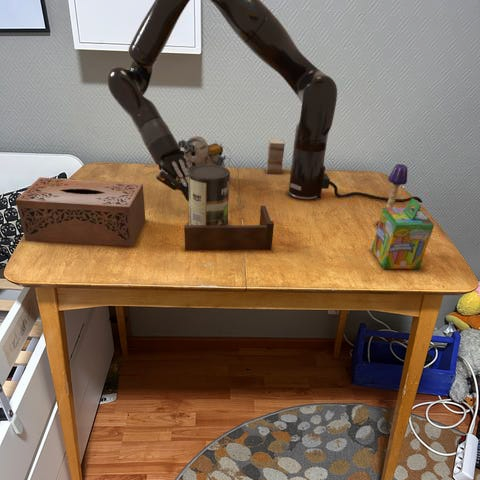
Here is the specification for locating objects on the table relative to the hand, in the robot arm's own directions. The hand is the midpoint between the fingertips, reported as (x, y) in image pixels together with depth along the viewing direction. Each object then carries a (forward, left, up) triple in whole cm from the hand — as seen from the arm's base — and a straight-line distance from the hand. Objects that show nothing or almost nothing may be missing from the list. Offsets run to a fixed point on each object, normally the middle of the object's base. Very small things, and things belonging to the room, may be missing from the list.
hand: (193, 200), depth 122 cm
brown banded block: (-28, -37, -5) cm, 46 cm away
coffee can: (-4, +4, -5) cm, 7 cm away
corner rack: (-8, +12, -5) cm, 15 cm away
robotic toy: (-4, -25, -5) cm, 25 cm away
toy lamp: (-52, +5, -5) cm, 52 cm away
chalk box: (-48, +23, -5) cm, 53 cm away
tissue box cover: (+26, +7, -5) cm, 28 cm away
